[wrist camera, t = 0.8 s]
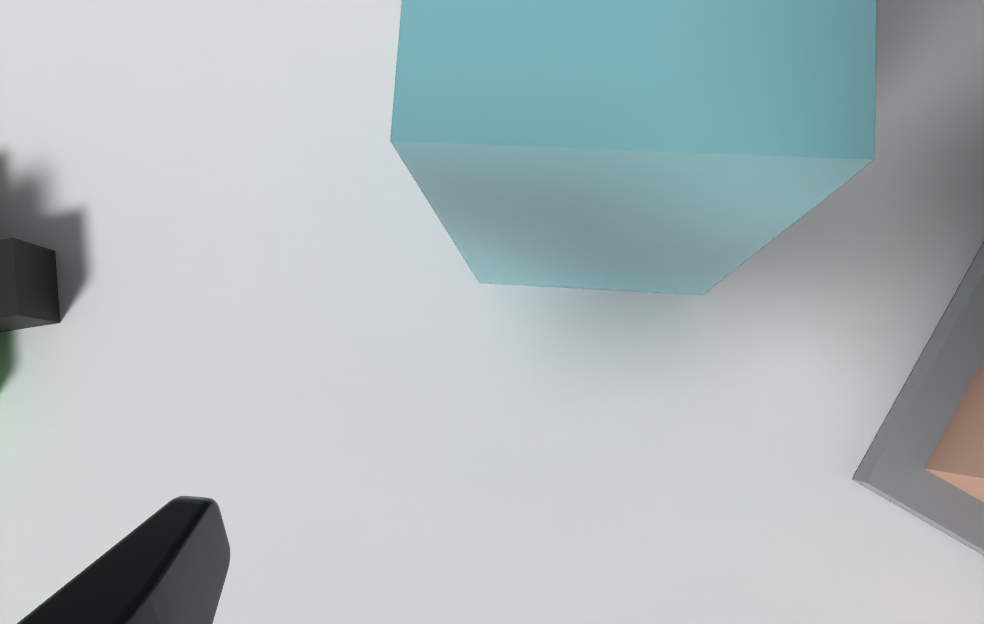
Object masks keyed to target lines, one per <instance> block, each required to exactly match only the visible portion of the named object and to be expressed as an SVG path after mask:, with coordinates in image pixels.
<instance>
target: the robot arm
mask: <svg viewBox="0 0 984 624" xmlns="http://www.w3.org/2000/svg"><path fill="white" fill-rule="evenodd" d="M229 562H230V546H229V542H228V538H227V534H226V531H225V527H224V524H223V520H222V516H221V513H220V509H219V506H218V504H217V503H216V502H215V501H214V500H213V499H211V498H204V497H192V496H180V497H177V498H175V499H173V500H171V501H170V502H169V503H167V504H166V505H165V506H164V507H162V508H161V509H160V510H159V511H157V512H156V513H155V514H154V515H152V516H151V517H150V518H149V519H147V520H146V521H145V522H144V523H142V524H141V525H140V526H139V527H137V528H136V529H135V530H134V531H132V532H131V533H130V534H129V535H127V536H126V537H125V538H124V539H122V540H121V541H120V542H119V543H117V544H116V545H115V546H114V547H112V548H111V549H110V550H109V551H107V552H106V553H105V554H104V555H102V556H101V557H100V558H99V559H97V560H96V561H95V562H94V563H92V564H91V565H90V566H88V567H87V568H86V569H85V570H83V571H82V572H81V573H80V574H78V575H77V576H76V577H75V578H73V579H72V580H71V581H70V582H68V583H67V584H66V585H65V586H63V587H62V588H61V589H60V590H58V591H57V592H56V593H55V594H53V595H52V596H51V597H50V598H48V599H47V600H46V601H45V602H43V603H42V604H41V605H40V606H38V607H37V608H36V609H35V610H33V611H32V612H31V613H30V614H28V615H27V616H26V617H25V618H23V619H22V620H21V621H20V622H18V623H17V624H212V623H213V620H214V616H215V613H216V609H217V606H218V603H219V599H220V596H221V592H222V589H223V585H224V582H225V578H226V575H227V571H228V567H229Z"/></svg>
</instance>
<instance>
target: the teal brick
mask: <svg viewBox="0 0 984 624" xmlns="http://www.w3.org/2000/svg"><path fill="white" fill-rule="evenodd" d="M875 69H876V0H402V5H401V17H400V29H399V41H398V53H397V65H396V77H395V89H394V102H393V114H392V126H391V138H390V141H391V143H392V144H393V146H394V148H395V149H396V151H397V152H398V154H399V156H400V157H401V159H402V160H403V162H404V164H405V165H406V167H407V168H408V170H409V172H410V173H411V175H412V176H413V178H414V180H415V181H416V183H417V184H418V186H419V187H420V189H421V191H422V192H423V194H424V195H425V197H426V199H427V200H428V202H429V203H430V205H431V207H432V208H433V210H434V211H435V213H436V215H437V216H438V218H439V219H440V221H441V223H442V224H443V226H444V227H445V229H446V231H447V232H448V234H449V235H450V237H451V239H452V240H453V242H454V243H455V245H456V247H457V248H458V250H459V251H460V253H461V255H462V256H463V258H464V259H465V261H466V263H467V264H468V266H469V267H470V269H471V271H472V272H473V274H474V275H475V277H476V279H477V280H478V282H479V283H489V284H507V285H526V286H545V287H563V288H582V289H600V290H619V291H637V292H656V293H674V294H693V295H703V294H704V293H705V292H707V291H708V290H709V289H710V288H712V287H713V286H714V285H716V284H717V283H718V282H719V281H721V280H722V279H723V278H724V277H726V276H727V275H728V274H730V273H731V272H732V271H733V270H735V269H736V268H737V267H738V266H740V265H741V264H742V263H744V262H745V261H746V260H747V259H749V258H750V257H751V256H752V255H754V254H755V253H756V252H757V251H759V250H760V249H761V248H763V247H764V246H765V245H766V244H768V243H769V242H770V241H771V240H773V239H774V238H775V237H777V236H778V235H779V234H780V233H782V232H783V231H784V230H785V229H787V228H788V227H789V226H791V225H792V224H793V223H794V222H796V221H797V220H798V219H799V218H801V217H802V216H803V215H805V214H806V213H807V212H808V211H810V210H811V209H812V208H813V207H815V206H816V205H817V204H818V203H820V202H821V201H822V200H824V199H825V198H826V197H827V196H829V195H830V194H831V193H832V192H834V191H835V190H836V189H838V188H839V187H840V186H841V185H843V184H844V183H845V182H846V181H848V180H849V179H850V178H852V177H853V176H854V175H855V174H857V173H858V172H859V171H860V170H862V169H863V168H864V167H866V166H867V165H868V164H869V163H871V162H872V161H873V160H874V139H875Z"/></svg>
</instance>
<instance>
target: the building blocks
mask: <svg viewBox="0 0 984 624" xmlns="http://www.w3.org/2000/svg"><path fill="white" fill-rule="evenodd" d="M56 323H60V314H59V300H58V286H57V272H56V258H55V251H53V250H50V249H46V248H43V247H40V246H37V245H34V244H31V243H27V242H24V241H21V240H18V239H15V238H10V239H4V240H0V332H3V331H10V330H16V329H23V328H29V327H36V326H42V325H49V324H56Z"/></svg>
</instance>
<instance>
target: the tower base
mask: <svg viewBox="0 0 984 624" xmlns="http://www.w3.org/2000/svg"><path fill="white" fill-rule="evenodd" d="M852 480H854V481H856V482H858V483H859V484H861V485H863V486H865V487H866V488H868V489H870V490H871V491H873V492H875V493H877V494H878V495H880V496H882V497H884V498H885V499H887V500H889V501H890V502H892V503H894V504H896V505H897V506H899V507H901V508H903V509H904V510H906V511H908V512H910V513H911V514H913V515H915V516H916V517H918V518H920V519H922V520H923V521H925V522H927V523H929V524H930V525H932V526H934V527H936V528H937V529H939V530H941V531H942V532H944V533H946V534H948V535H949V536H951V537H953V538H955V539H956V540H958V541H960V542H962V543H963V544H965V545H967V546H968V547H970V548H972V549H974V550H975V551H977V552H979V553H981V554H982V555H984V243H983V245H982V246H981V248H980V250H979V252H978V254H977V255H976V257H975V259H974V261H973V263H972V264H971V266H970V268H969V270H968V272H967V273H966V275H965V277H964V279H963V281H962V282H961V284H960V286H959V288H958V290H957V291H956V293H955V295H954V297H953V299H952V300H951V302H950V304H949V306H948V308H947V309H946V311H945V313H944V315H943V317H942V318H941V320H940V322H939V324H938V326H937V327H936V329H935V331H934V333H933V335H932V336H931V338H930V340H929V342H928V344H927V345H926V347H925V349H924V351H923V353H922V354H921V356H920V358H919V360H918V362H917V363H916V365H915V367H914V369H913V370H912V372H911V374H910V376H909V378H908V379H907V381H906V383H905V385H904V387H903V388H902V390H901V392H900V394H899V396H898V397H897V399H896V401H895V403H894V405H893V406H892V408H891V410H890V412H889V414H888V415H887V417H886V419H885V421H884V423H883V424H882V426H881V428H880V430H879V432H878V433H877V435H876V437H875V439H874V441H873V442H872V444H871V446H870V448H869V450H868V451H867V453H866V455H865V457H864V459H863V460H862V462H861V464H860V466H859V468H858V469H857V471H856V473H855V475H854V477H853V478H852Z"/></svg>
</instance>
